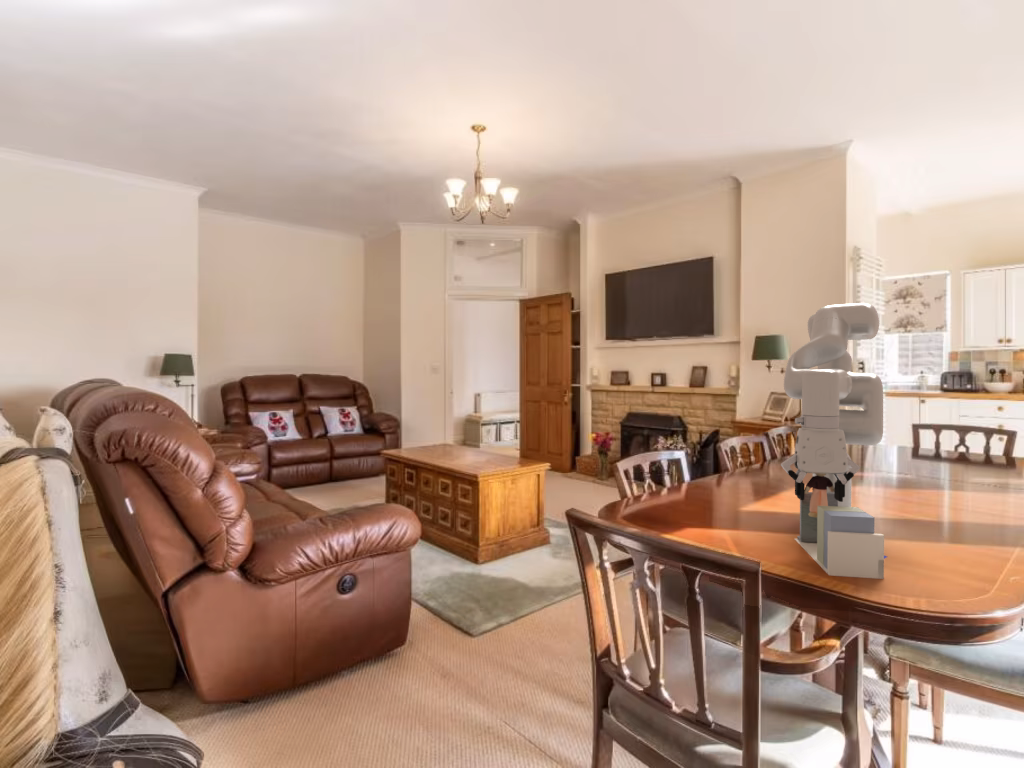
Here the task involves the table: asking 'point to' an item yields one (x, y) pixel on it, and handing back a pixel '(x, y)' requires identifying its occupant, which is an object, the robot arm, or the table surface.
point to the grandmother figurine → (818, 492)
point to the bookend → (811, 518)
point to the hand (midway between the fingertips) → (819, 499)
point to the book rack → (851, 554)
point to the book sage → (821, 526)
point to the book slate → (846, 525)
